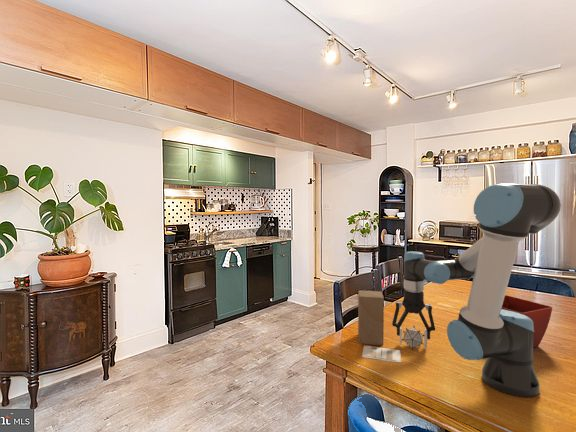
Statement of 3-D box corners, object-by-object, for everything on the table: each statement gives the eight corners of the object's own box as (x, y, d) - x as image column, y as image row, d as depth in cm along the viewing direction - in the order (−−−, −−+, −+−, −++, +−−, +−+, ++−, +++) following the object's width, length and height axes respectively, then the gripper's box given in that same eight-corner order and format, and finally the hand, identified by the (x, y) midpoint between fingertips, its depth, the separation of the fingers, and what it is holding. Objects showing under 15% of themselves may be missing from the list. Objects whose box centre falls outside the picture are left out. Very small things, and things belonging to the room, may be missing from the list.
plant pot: (475, 337, 137) (476, 299, 136) (505, 330, 144) (506, 294, 143) (521, 356, 119) (522, 313, 118) (553, 348, 126) (554, 307, 125)
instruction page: (400, 362, 114) (400, 362, 114) (361, 357, 119) (361, 356, 119) (400, 350, 124) (400, 350, 124) (364, 345, 128) (364, 345, 128)
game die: (409, 357, 126) (394, 338, 126) (411, 342, 133) (397, 324, 133) (430, 352, 121) (414, 332, 120) (431, 337, 128) (416, 318, 127)
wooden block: (383, 345, 128) (383, 297, 128) (358, 343, 130) (358, 296, 130) (381, 336, 138) (381, 291, 137) (358, 334, 140) (358, 290, 139)
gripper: (441, 289, 126) (440, 344, 127) (385, 285, 133) (385, 337, 134) (444, 294, 119) (443, 352, 120) (385, 290, 126) (385, 345, 127)
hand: (413, 344), depth 127 cm, fingers closed on game die, 9 cm apart
